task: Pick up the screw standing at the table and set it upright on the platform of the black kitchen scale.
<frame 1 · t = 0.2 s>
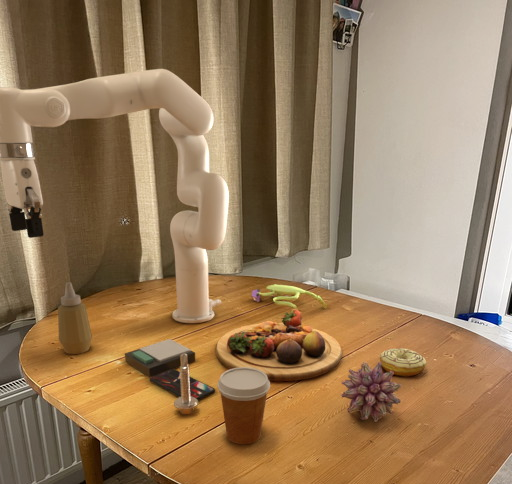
hand: (27, 233, 111), 31 cm above the table, tool pointing down, fingers open, 9 cm apart
decorated donut: (401, 369, 121), on the table
scale: (160, 361, 122), on the table
figurine: (287, 304, 164), on the table
screw: (186, 412, 101), on the table
flower: (368, 416, 100), on the table
squeeze bottle: (77, 350, 128), on the table
disposable coffee cup: (243, 435, 94), on the table
smartphone: (181, 387, 111), on the table
wooden plate: (278, 354, 128), on the table
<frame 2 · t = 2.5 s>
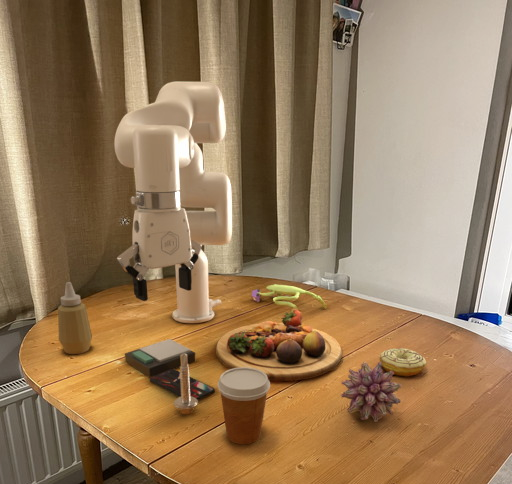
hand: (164, 293, 94), 24 cm above the table, tool pointing down, fingers open, 9 cm apart
nothing on the table moved.
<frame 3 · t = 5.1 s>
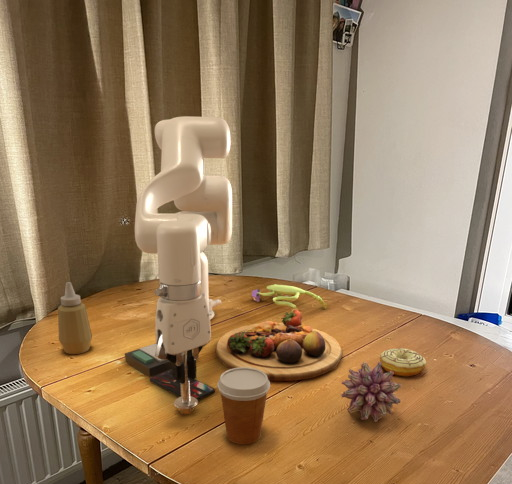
hand: (184, 378, 98), 8 cm above the table, tool pointing down, fingers closed on screw, 2 cm apart
screw: (186, 412, 101), on the table, touching gripper
everything else where it was.
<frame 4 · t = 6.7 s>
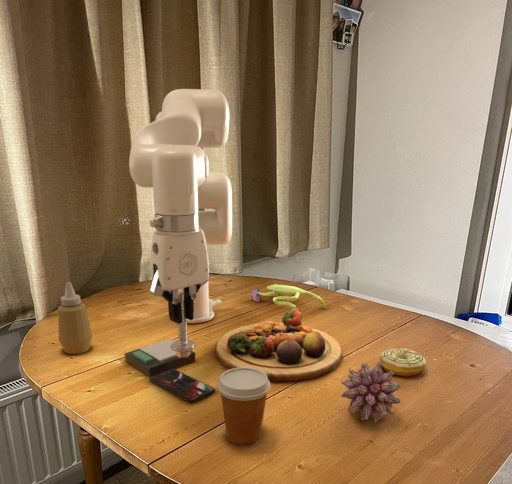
hand: (181, 319, 95), 20 cm above the table, tool pointing down, fingers closed on screw
screw: (183, 355, 98), point 12 cm above the table, touching gripper
everything else where it was.
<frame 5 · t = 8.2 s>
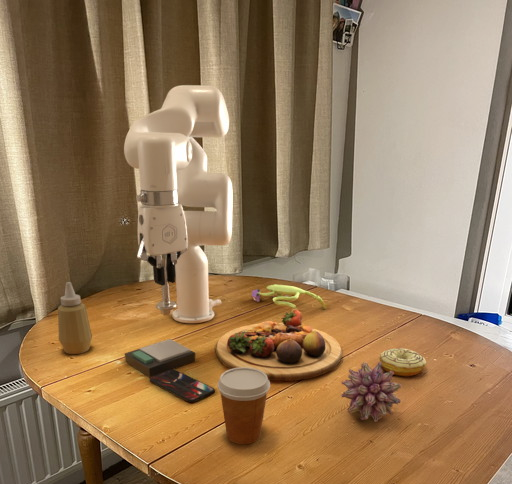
hand: (164, 282, 111), 21 cm above the table, tool pointing down, fingers closed on screw
screw: (167, 314, 114), point 14 cm above the table, touching gripper
everything else where it was.
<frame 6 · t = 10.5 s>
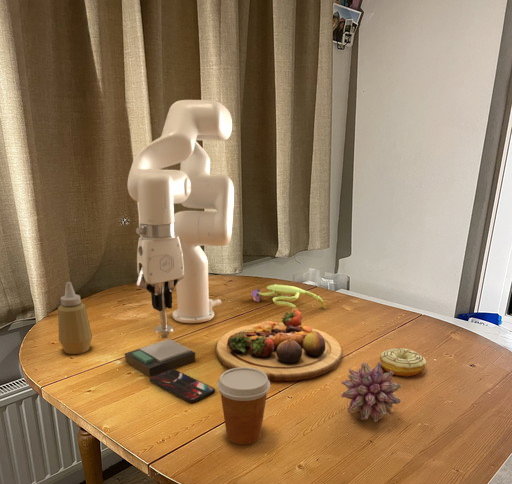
hand: (162, 307, 118), 14 cm above the table, tool pointing down, fingers closed on screw
screw: (164, 337, 121), point 6 cm above the table, touching gripper
everything else where it was.
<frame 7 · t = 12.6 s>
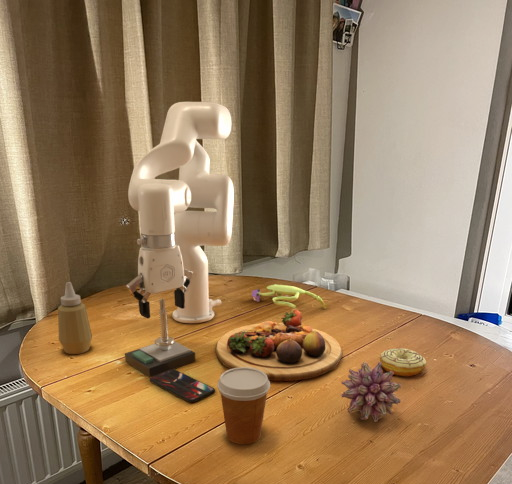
hand: (163, 311, 119), 13 cm above the table, tool pointing down, fingers open, 9 cm apart
screw: (165, 349, 122), point 3 cm above the table, touching scale
everything else where it was.
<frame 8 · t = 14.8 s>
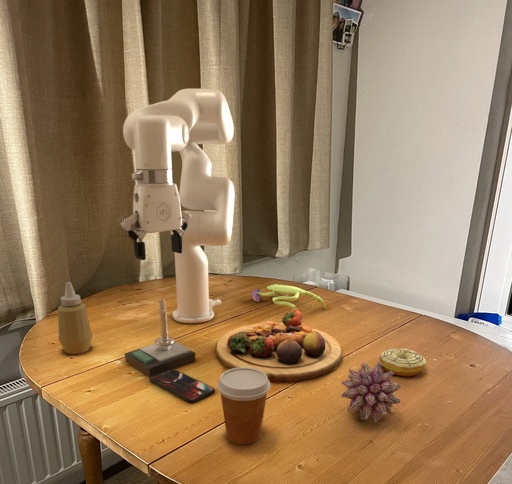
hand: (159, 255, 114), 26 cm above the table, tool pointing down, fingers open, 9 cm apart
nothing on the table moved.
at the end: screw inside the target area on the scale (0.0 cm from its centre), point 2.8 cm above the scale's base; screw tilted 0°; the gripper is holding nothing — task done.
